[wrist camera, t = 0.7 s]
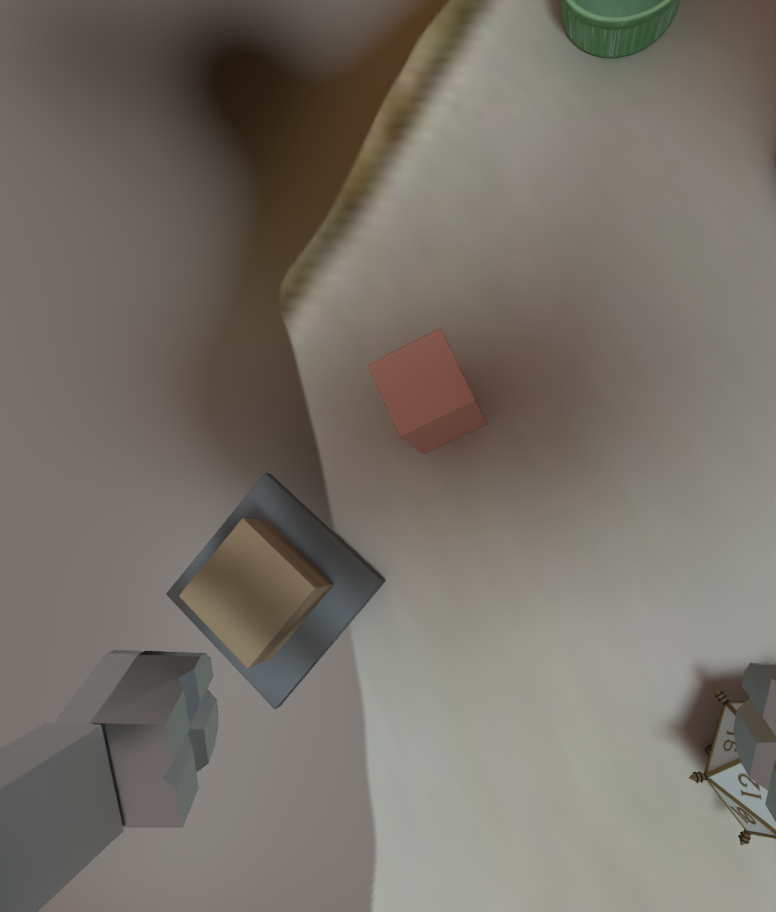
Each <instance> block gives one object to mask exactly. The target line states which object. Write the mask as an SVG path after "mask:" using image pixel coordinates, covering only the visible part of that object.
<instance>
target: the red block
mask: <svg viewBox="0 0 776 912" xmlns="http://www.w3.org/2000/svg"><path fill="white" fill-rule="evenodd" d="M368 367H369V369H370V372H371V374H372V376H373V378H374V380H375V383H376V385H377V387H378V389H379V392H380V394H381V396H382V398H383V400H384V403H385V405H386V407H387V409H388V412H389V414H390V416H391V418H392V420H393V423H394V425H395V427H396V429H397V431H398V434H399V436H400V437H401V438H402V439H404V440H405V441H406V442H408V443H409V444H411V445H412V446H413V447H415V448H416V449H417V450H419V451H420V452H422V453H423V454H425V453H428V452H430V451H432V450H434V449H436V448H438V447H440V446H442V445H444V444H446V443H448V442H450V441H452V440H454V439H457V438H459V437H461V436H463V435H465V434H467V433H469V432H471V431H473V430H475V429H477V428H479V427H481V426H484V425H486V424H487V423H486V421H485V419H484V417H483V415H482V413H481V410H480V408H479V406H478V404H477V402H476V400H475V398H474V396H473V394H472V392H471V390H470V388H469V386H468V384H467V382H466V380H465V378H464V375H463V373H462V371H461V369H460V367H459V365H458V363H457V361H456V359H455V357H454V355H453V353H452V351H451V349H450V347H449V345H448V343H447V341H446V339H445V337H444V335H443V333H442V331H441V329H438V330H436V331H434V332H432V333H430V334H428V335H426V336H424V337H422V338H420V339H418V340H416V341H414V342H413V343H411V344H409V345H407V346H405V347H403V348H401V349H399V350H397V351H395V352H393V353H391V354H389V355H387V356H385V357H383V358H381V359H380V360H378V361H376V362H374V363H372V364H370V365H368Z"/></svg>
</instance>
